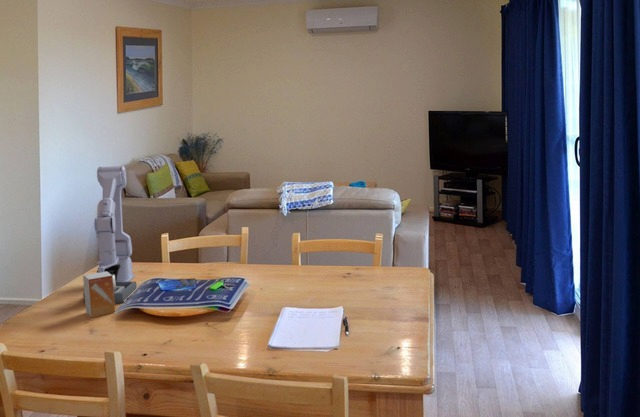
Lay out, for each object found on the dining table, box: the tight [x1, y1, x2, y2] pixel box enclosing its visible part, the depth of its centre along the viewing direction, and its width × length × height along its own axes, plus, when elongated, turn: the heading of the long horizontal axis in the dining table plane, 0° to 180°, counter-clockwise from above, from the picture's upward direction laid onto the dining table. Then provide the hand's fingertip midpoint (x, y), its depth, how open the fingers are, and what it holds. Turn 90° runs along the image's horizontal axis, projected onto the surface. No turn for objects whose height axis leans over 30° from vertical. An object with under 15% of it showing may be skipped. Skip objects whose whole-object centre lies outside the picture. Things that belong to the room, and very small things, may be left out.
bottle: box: [112, 274, 116, 292], centre depth 256 cm, size 4×4×8 cm
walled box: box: [83, 280, 138, 304], centre depth 257 cm, size 14×14×4 cm
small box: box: [82, 271, 116, 318], centre depth 239 cm, size 8×6×13 cm
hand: (110, 287), depth 256 cm, fingers closed on bottle, 4 cm apart
